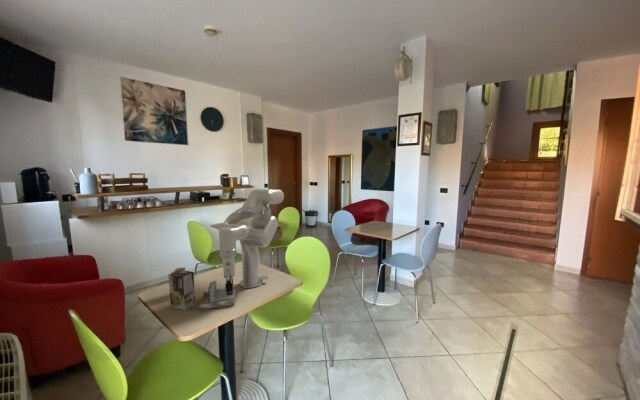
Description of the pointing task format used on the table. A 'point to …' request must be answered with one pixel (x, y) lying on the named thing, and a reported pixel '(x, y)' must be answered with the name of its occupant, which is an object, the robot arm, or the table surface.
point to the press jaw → (219, 294)
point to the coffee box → (182, 289)
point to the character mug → (179, 269)
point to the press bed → (208, 305)
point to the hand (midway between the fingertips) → (229, 288)
